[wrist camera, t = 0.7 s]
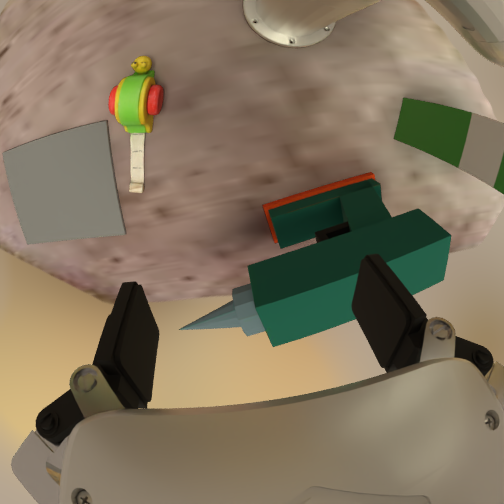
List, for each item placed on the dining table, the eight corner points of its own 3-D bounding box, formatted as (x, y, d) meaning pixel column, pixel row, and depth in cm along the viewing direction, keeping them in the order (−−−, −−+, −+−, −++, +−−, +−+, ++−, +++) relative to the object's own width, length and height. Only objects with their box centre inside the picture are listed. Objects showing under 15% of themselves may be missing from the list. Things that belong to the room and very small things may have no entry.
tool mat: (4, 152, 28) (2, 153, 28) (107, 120, 30) (106, 120, 30) (28, 242, 38) (27, 244, 38) (126, 232, 40) (125, 234, 40)
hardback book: (465, 133, 36) (562, 181, 16) (456, 166, 40) (548, 226, 20) (403, 97, 33) (530, 133, 13) (393, 138, 36) (512, 200, 16)
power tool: (197, 268, 45) (192, 369, 29) (179, 234, 42) (160, 333, 25) (374, 209, 43) (446, 281, 27) (371, 172, 39) (454, 233, 23)
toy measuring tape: (171, 58, 27) (162, 50, 22) (157, 191, 38) (148, 209, 32) (126, 59, 26) (108, 53, 21) (117, 189, 36) (102, 207, 31)
